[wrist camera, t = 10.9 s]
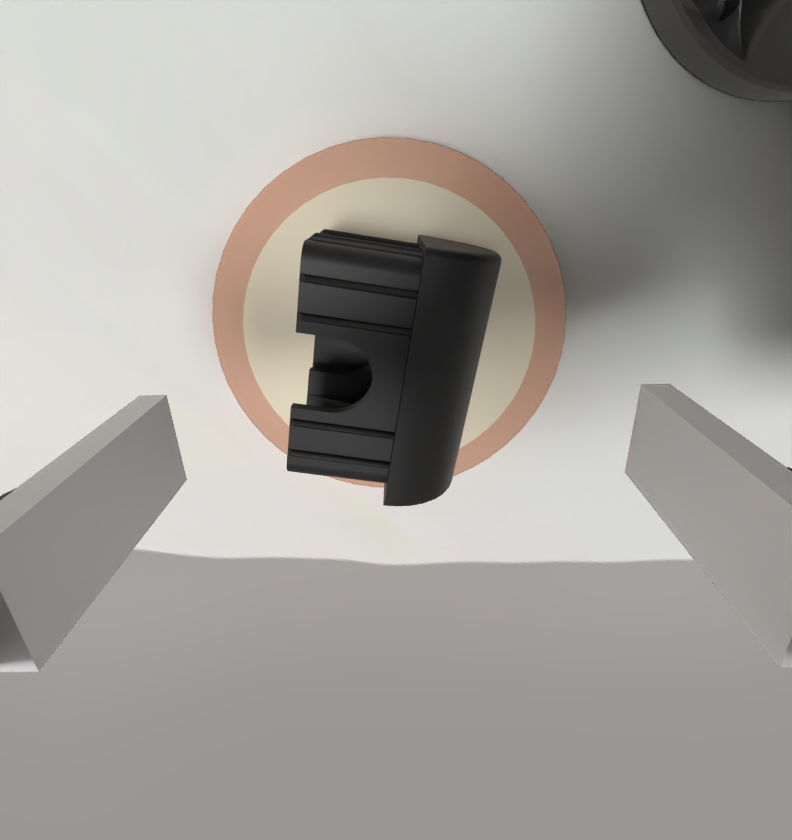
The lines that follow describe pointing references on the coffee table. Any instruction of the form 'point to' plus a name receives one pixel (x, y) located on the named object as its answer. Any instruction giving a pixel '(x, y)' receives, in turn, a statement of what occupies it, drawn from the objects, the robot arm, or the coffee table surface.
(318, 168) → the plate
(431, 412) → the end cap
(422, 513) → the coffee table surface
